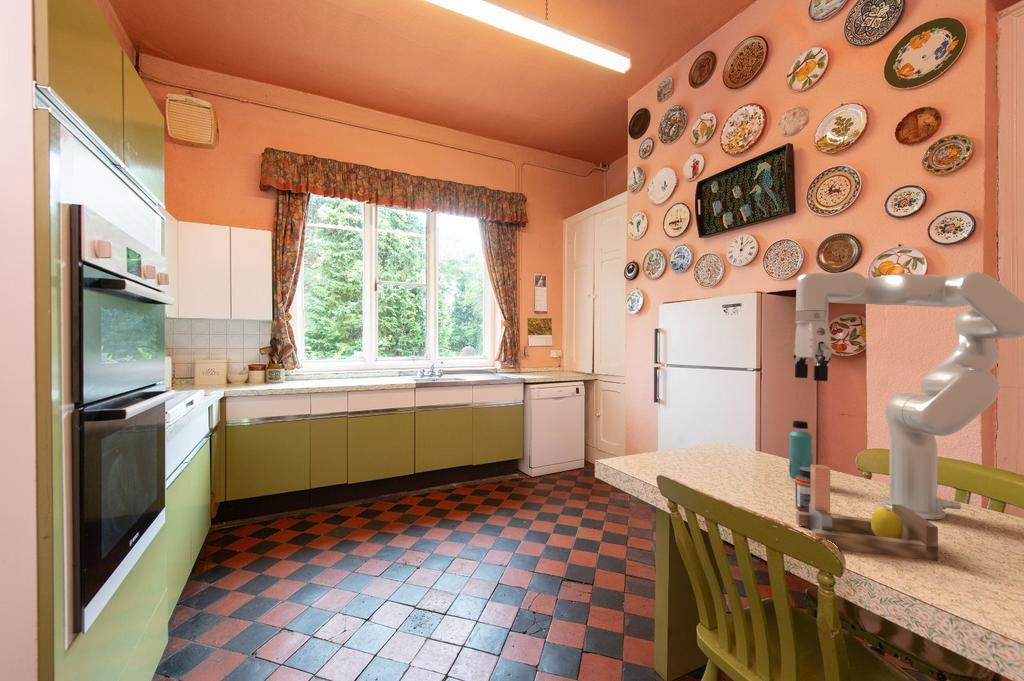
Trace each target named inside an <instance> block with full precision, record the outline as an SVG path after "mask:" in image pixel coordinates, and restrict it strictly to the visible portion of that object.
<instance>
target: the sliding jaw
mask: <svg viewBox="0 0 1024 681" xmlns="http://www.w3.org/2000/svg"><path fill="white" fill-rule="evenodd" d="M832 515H833V514H831V468H829V467H828V466H827V465H825V464H814V463H813V464H811V481H810V503H809V527H808V528H809V529H810V530H811V531H812V532H813V529H815V530H824V531H833V530H832Z"/></svg>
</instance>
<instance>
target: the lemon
mask: <svg viewBox="0 0 1024 681" xmlns="http://www.w3.org/2000/svg"><path fill="white" fill-rule="evenodd" d="M870 519H871V528H872V530H873V532H874V534H875V535H874V534H873V535H874V536H879V537H888V538H897V539H900V538H901V536H902V533H903V525H902V522H901V519H900V518H899V516H898V515H897V514H896V513H894V512H893V511H891V510H889V509H888V508H885V507H884V508H879V509H877V510H875V511H874V512H873V513H872V516H871V518H870Z"/></svg>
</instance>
